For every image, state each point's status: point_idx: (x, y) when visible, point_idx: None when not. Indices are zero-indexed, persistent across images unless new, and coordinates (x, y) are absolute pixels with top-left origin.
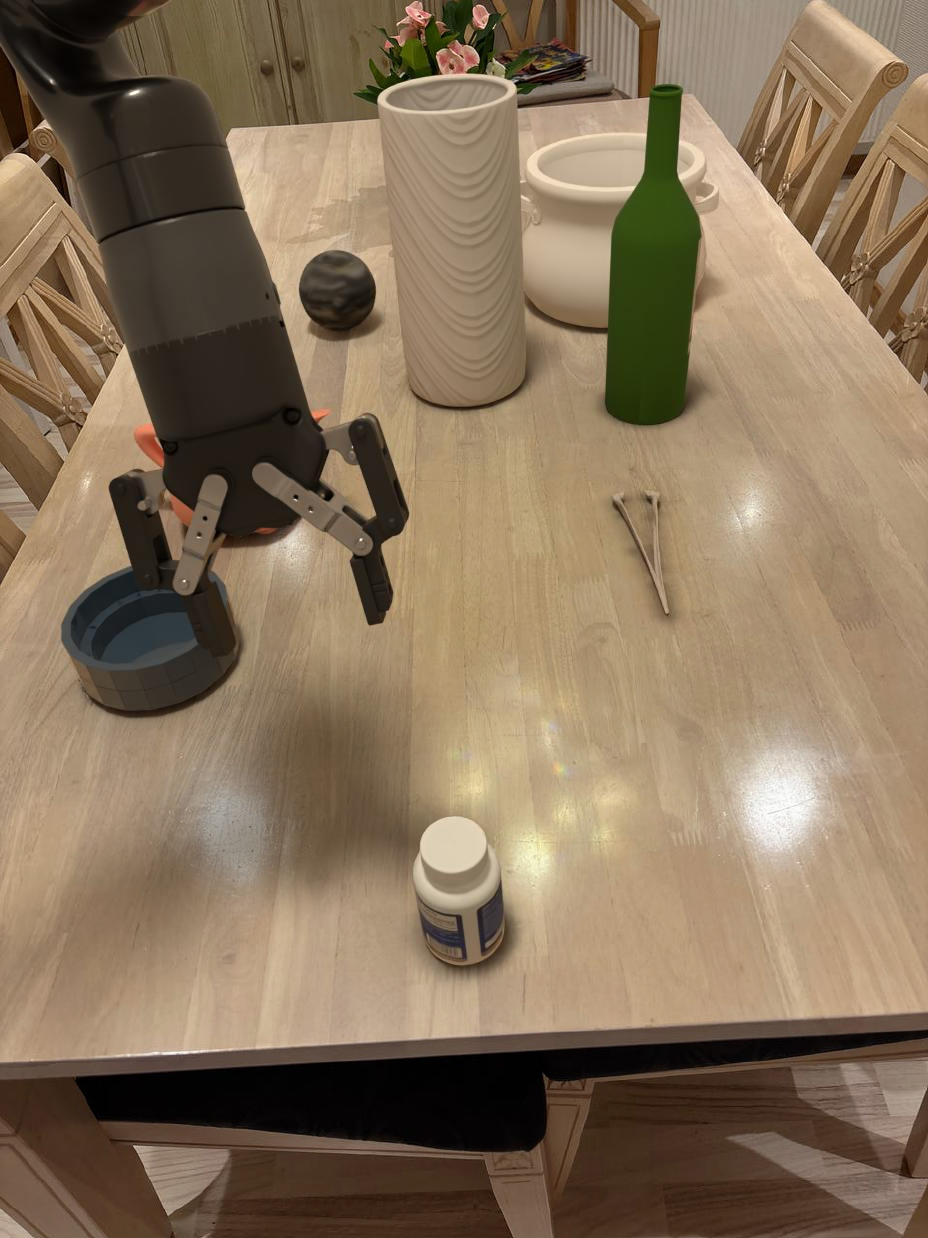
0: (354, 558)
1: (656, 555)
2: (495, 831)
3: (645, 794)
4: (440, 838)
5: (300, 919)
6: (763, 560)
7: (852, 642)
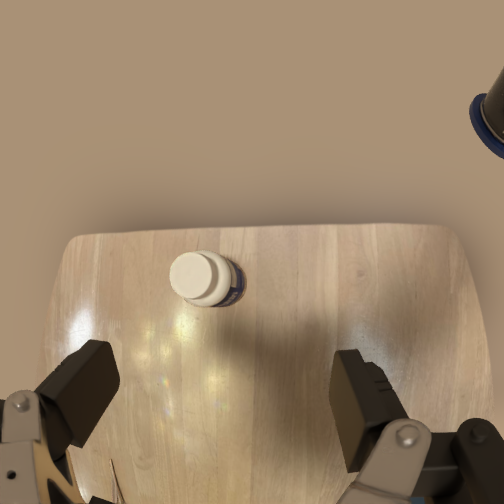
0: (53, 404)
1: (115, 493)
2: (203, 346)
3: (127, 354)
4: (197, 280)
5: (321, 297)
6: (75, 467)
7: None
